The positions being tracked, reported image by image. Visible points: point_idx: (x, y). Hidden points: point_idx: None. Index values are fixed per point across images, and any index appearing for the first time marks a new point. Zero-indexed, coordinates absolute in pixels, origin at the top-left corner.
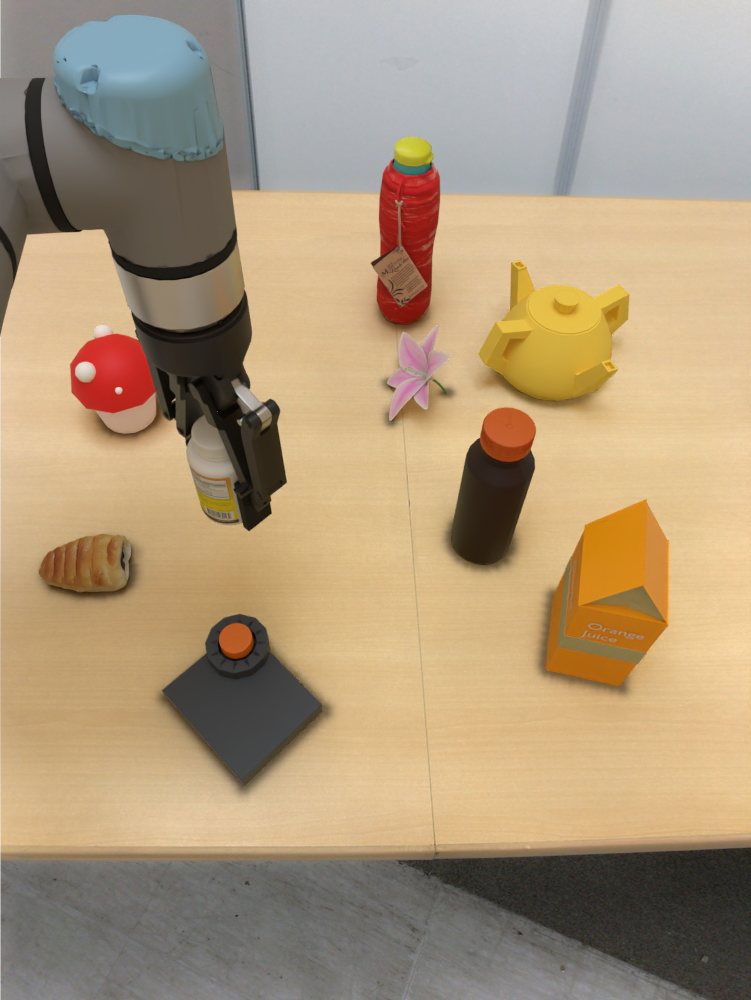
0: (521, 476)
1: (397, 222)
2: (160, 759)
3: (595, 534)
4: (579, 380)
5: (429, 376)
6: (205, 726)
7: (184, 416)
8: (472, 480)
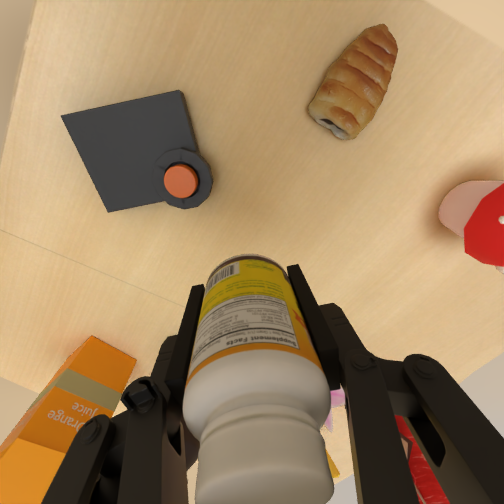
0: None
1: (424, 494)
2: (124, 54)
3: None
4: None
5: None
6: (124, 111)
7: (365, 483)
8: None
